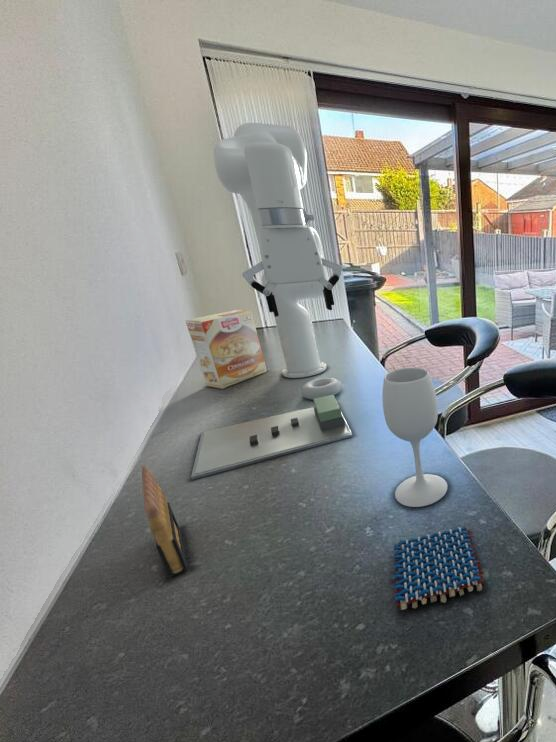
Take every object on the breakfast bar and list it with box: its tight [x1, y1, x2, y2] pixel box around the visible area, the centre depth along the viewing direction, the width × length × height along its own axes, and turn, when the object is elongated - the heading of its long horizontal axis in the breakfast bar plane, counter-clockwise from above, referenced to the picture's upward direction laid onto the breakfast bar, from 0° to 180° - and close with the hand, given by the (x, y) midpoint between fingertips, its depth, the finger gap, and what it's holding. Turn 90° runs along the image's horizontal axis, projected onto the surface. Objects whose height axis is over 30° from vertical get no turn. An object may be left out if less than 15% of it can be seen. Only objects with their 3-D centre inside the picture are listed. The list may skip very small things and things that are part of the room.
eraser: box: [312, 395, 345, 431], centre depth 91 cm, size 10×5×4 cm, turn 31°
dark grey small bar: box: [291, 418, 299, 427], centre depth 89 cm, size 3×1×1 cm, turn 31°
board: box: [190, 405, 354, 481], centre depth 86 cm, size 20×28×1 cm
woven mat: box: [393, 526, 485, 611], centre depth 51 cm, size 10×11×2 cm
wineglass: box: [382, 366, 448, 508], centre depth 63 cm, size 9×9×21 cm
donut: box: [300, 377, 342, 400], centre depth 107 cm, size 10×4×10 cm
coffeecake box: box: [185, 309, 268, 390], centre depth 117 cm, size 15×7×20 cm, turn 160°
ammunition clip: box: [141, 465, 189, 578], centre depth 53 cm, size 11×2×12 cm, turn 42°
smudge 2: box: [271, 426, 280, 436], centre depth 86 cm, size 3×1×1 cm, turn 31°
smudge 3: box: [250, 435, 258, 445], centre depth 82 cm, size 3×1×1 cm, turn 31°
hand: (303, 312), depth 79 cm, fingers open, 9 cm apart
